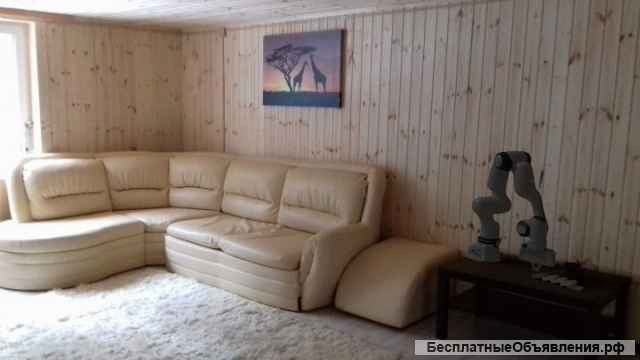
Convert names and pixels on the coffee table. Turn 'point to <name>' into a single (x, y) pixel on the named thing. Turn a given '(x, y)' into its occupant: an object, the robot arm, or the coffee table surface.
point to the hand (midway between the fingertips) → (536, 270)
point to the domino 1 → (540, 275)
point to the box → (571, 269)
